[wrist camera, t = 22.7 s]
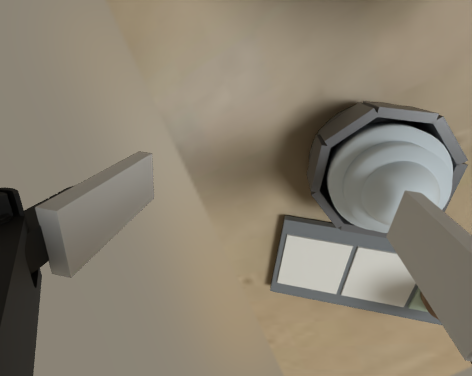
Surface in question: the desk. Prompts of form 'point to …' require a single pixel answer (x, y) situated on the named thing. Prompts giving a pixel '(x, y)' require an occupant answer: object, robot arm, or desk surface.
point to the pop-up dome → (386, 172)
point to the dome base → (359, 118)
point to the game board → (345, 270)
